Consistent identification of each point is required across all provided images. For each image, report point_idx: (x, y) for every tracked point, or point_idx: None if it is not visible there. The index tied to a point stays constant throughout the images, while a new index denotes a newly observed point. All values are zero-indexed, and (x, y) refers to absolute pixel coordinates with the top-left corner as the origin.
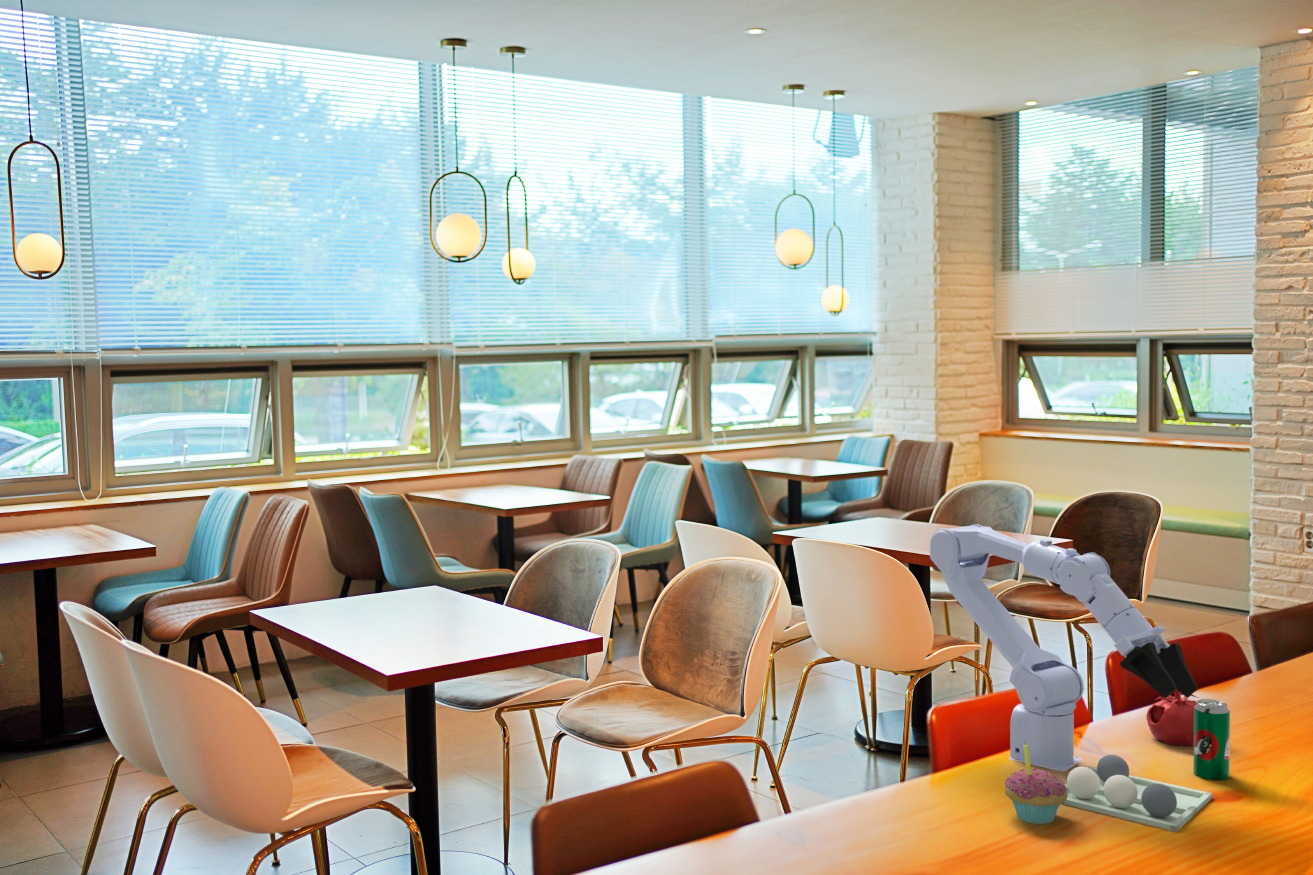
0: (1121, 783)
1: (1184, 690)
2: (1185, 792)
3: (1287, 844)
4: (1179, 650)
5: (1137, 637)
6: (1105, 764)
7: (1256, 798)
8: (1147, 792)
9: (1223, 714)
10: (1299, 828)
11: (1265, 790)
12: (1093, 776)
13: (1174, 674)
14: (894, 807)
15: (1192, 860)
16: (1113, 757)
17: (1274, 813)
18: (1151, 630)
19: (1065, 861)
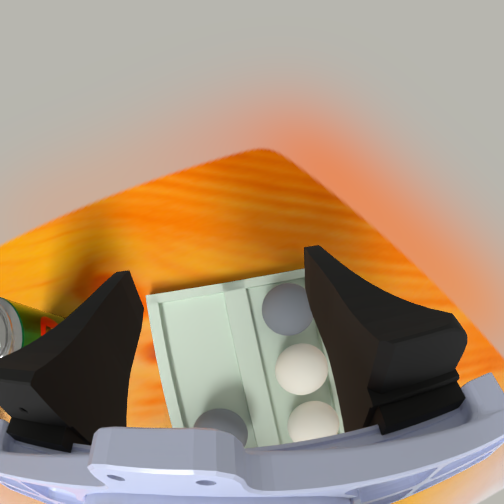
0: (321, 358)
1: (135, 314)
2: (163, 332)
3: (223, 171)
4: (29, 357)
5: (435, 441)
6: (244, 438)
7: (89, 259)
8: (312, 316)
9: (9, 301)
10: (160, 180)
11: (52, 264)
12: (320, 409)
13: (114, 356)
14: (456, 487)
15: (354, 223)
16: None
17: (129, 219)
18: (256, 489)
19: (448, 307)
